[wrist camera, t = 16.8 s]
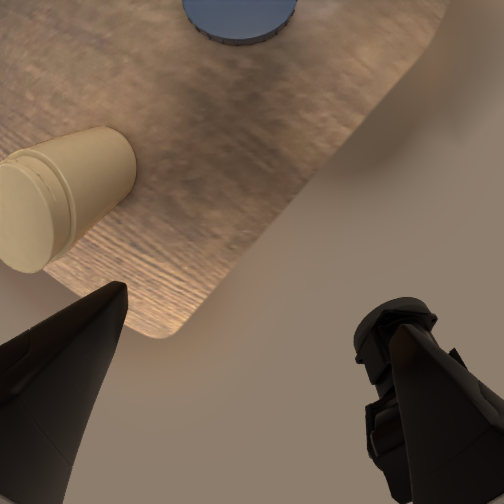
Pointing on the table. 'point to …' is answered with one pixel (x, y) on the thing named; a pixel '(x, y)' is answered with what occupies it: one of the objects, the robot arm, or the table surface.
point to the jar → (60, 193)
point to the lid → (239, 19)
